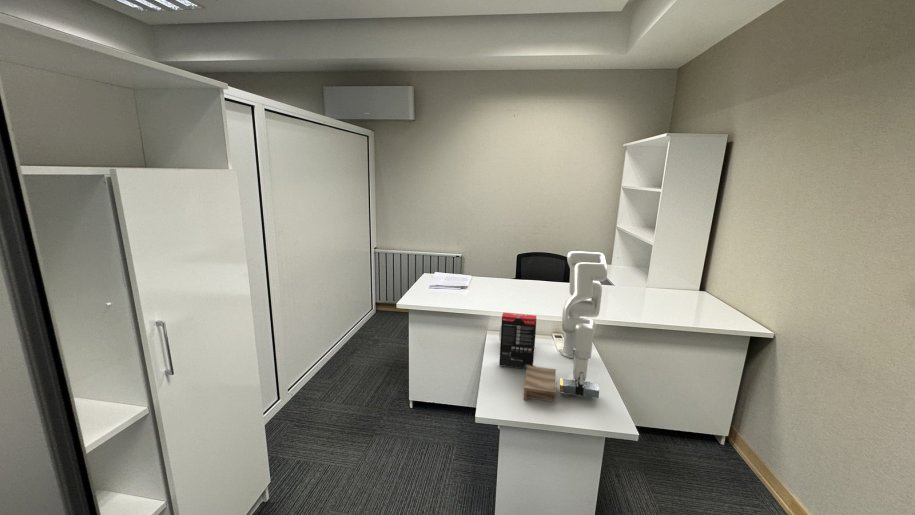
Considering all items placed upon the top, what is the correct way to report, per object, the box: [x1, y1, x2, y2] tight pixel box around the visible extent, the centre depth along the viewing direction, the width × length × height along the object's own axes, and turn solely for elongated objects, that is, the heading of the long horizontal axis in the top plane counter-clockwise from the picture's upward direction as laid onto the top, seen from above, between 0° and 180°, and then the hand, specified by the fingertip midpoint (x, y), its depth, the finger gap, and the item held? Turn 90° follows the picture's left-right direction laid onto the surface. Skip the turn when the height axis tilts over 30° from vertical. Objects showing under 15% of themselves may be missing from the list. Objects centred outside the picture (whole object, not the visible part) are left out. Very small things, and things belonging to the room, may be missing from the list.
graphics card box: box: [498, 312, 537, 370], centre depth 187 cm, size 17×7×27 cm, turn 79°
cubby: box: [523, 365, 557, 402], centre depth 167 cm, size 20×13×6 cm, turn 165°
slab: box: [559, 378, 600, 399], centre depth 163 cm, size 16×6×4 cm, turn 75°
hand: (578, 390), depth 163 cm, fingers closed on slab, 6 cm apart
